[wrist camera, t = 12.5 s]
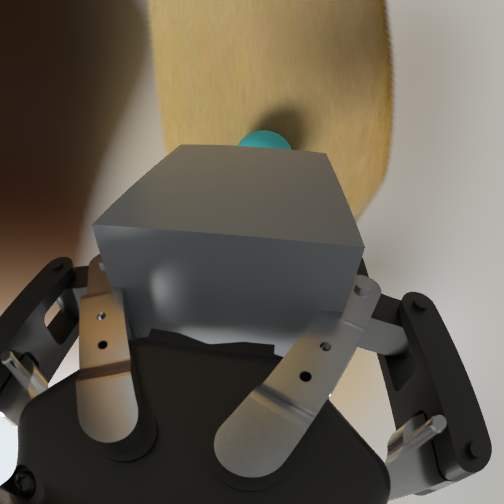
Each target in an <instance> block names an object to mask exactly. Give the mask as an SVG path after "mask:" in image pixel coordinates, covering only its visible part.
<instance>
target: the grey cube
mask: <svg viewBox="0 0 504 504" xmlns="http://www.w3.org/2000/svg"><path fill="white" fill-rule="evenodd" d="M92 226H93V230H94V233H95V237H96V241H97V244H98V248H99V251H100V255H101V258H102V261H103V264H104V267H105V271H106V274H107V277H108V280H109V283H110V285H111V286H114V287H123V288H125V292H126V295H127V298H128V302H129V307H130V310H131V313H132V316H133V319H134V322H135V325H136V327H137V330H138V331H139V332H140V335H141V338H142V337H148V335H149V333H150V331H151V328H153V329H159V330H165V331H171V332H177V333H181V334H183V335H186V336H188V337H191V338H194V339H196V340H199V341H201V342H204V343H207V344H220V343H233V342H252V343H262V344H273V345H275V349H274V354H276V355H279V356H282V357H284V356H285V355H286V354H287V353H288V351H289V350H290V349H291V347H292V346H293V345H294V343H295V342H296V341H297V339H298V338H299V337H300V335H301V334H302V333H303V331H304V330H305V329H306V327H307V326H308V325H309V323H310V322H311V321H312V319H313V318H314V316H315V315H316V314H317V312H318V311H319V310H320V309H322V310H324V311H338V312H344V310H345V307H346V304H347V301H348V299H349V296H350V293H351V290H352V287H353V284H354V281H355V277H356V274H357V271H358V268H359V265H360V261H361V258H362V255H363V251H364V248H365V246H364V244H363V241H362V238H361V236H360V233H359V230H358V228H357V225H356V222H355V220H354V217H353V215H352V212H351V210H350V207H349V205H348V202H347V200H346V198H345V195H344V193H343V190H342V188H341V186H340V184H339V181H338V179H337V177H336V174H335V172H334V170H333V168H332V166H331V163H330V161H329V159H328V157H327V155H326V153H318V152H309V151H300V150H290V149H278V148H265V147H250V146H229V145H180V146H179V147H177V148H176V149H175V150H174V151H172V152H171V153H170V154H169V155H167V156H166V157H165V158H164V159H163V160H161V161H160V162H159V163H158V164H157V165H155V166H154V167H153V168H152V169H151V170H150V171H148V172H147V173H146V174H145V175H144V176H143V177H142V178H140V179H139V180H138V181H137V182H136V183H135V184H134V185H133V186H132V187H130V188H129V189H128V190H127V191H126V192H125V193H124V194H123V195H122V196H121V197H120V198H118V200H116V201H115V202H114V203H113V204H112V205H111V206H110V207H109V208H108V209H107V210H106V211H105V212H104V213H103V214H102V215H101V216H100V217H99V218H98V219H97V220H96V221H95V222H94V223H93V224H92Z"/></svg>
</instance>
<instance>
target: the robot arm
mask: <svg viewBox="0 0 504 504" xmlns="http://www.w3.org/2000/svg"><path fill="white" fill-rule="evenodd" d="M55 301H57V303H58V305H59V307H60V311H59V312H58V313H57V315H56V316H55V317H54V319H53V320H52V321H51V322H50V324H49V325H48V326H47V327H46V325H45V322H44V317H45V314H46V312H47V311H48V310H49V308H50V307H51V306H52V305H53V303H54V302H55ZM78 336H79V365H80V366H79V367H80V369H79V370H78V371H76V372H74V373H73V374H71V375H70V376H68V377H66V378H65V379H63V380H61V381H60V382H58V383H57V384H55V385H53V386H52V387H50V388H48V383H49V382H50V380H51V378H52V377H53V375H54V373H55V372H56V370H57V369H58V367H59V365H60V364H61V362H62V360H63V359H64V357H65V356H66V354H67V353H68V351H69V350H70V348H71V347H72V345H73V344H74V342H75V341H76V339H77V337H78ZM357 347H360V348H363V349H367V350H370V351H373V352H376V353H377V355H378V359H379V363H380V366H381V370H382V373H383V377H384V380H385V385H386V389H387V392H388V396H389V400H390V405H391V409H392V413H393V418H394V422H395V427H396V432H394V433H393V434H392V436H391V437H390V439H389V442H388V446H387V448H388V454H387V459H386V461H385V463H384V462H383V461H382V460H381V458H380V457H379V456H378V455H377V454H376V453H375V451H374V450H373V449H372V448H371V447H370V446H369V445H368V444H367V443H366V441H365V440H364V439H363V438H362V437H361V436H360V435H359V434H358V433H357V431H356V430H355V429H354V428H353V427H352V426H351V425H350V423H349V422H348V421H347V420H346V419H345V418H344V417H343V415H342V414H341V413H340V412H339V411H338V410H337V409H336V407H335V406H334V405H333V404H332V403H331V402H330V401H329V398H330V396H331V394H332V392H333V391H334V389H335V387H336V385H337V384H338V382H339V380H340V378H341V377H342V375H343V373H344V371H345V369H346V367H347V366H348V364H349V362H350V360H351V358H352V356H353V354H354V352H355V350H356V348H357ZM274 349H275V345H273V344H262V343H252V342H233V343H220V344H207V343H204V342H201V341H199V340H196V339H194V338H191V337H188V336H186V335H183V334H181V333H177V332H171V331H165V330H159V329H153V328H151V331H150V333H149V335H148V337H142V338H141V335H140V332H139V331H138V330H137V327H136V325H135V322H134V319H133V316H132V313H131V310H130V307H129V302H128V298H127V295H126V292H125V288H123V287H114V286H111V285H110V283H109V280H108V277H107V274H106V271H105V267H104V264H103V261H102V258H101V255H100V254H98V255H97V256H95V257H94V258H93V259H92V260H91V261H90V263H89V266H82V267H74V265H73V262H72V260H71V259H70V258H68V257H59V258H56V259H54V260H52V261H51V262H49V263H48V264H47V265H46V266H45V267H44V268H43V269H42V270H41V271H40V272H39V273H38V274H37V275H36V277H35V278H34V279H33V280H32V281H31V282H30V283H29V284H28V285H27V286H26V287H25V288H24V290H23V291H22V292H21V293H20V294H19V295H18V296H17V297H16V299H15V300H14V301H13V302H12V303H11V305H10V306H9V307H8V308H7V309H6V310H5V312H4V313H3V314H2V315H1V316H0V416H2V417H3V418H4V419H6V420H7V421H8V422H9V423H11V424H12V425H15V426H18V460H17V466H16V469H15V471H14V473H13V475H12V476H11V477H10V478H9V480H7V481H6V482H5V483H4V484H2V485H1V486H0V504H387V502H388V501H390V500H394V499H398V498H401V497H404V496H408V495H411V494H415V495H426V494H428V493H431V492H434V491H436V490H439V489H441V488H444V487H446V486H449V485H451V484H453V483H455V482H457V481H460V480H462V479H464V478H466V477H468V476H470V475H472V474H474V473H476V472H478V471H480V470H482V469H483V468H484V467H485V466H486V465H487V463H488V462H489V460H490V457H491V452H492V447H491V441H490V438H489V434H488V431H487V428H486V425H485V421H484V418H483V415H482V412H481V409H480V407H479V404H478V401H477V399H476V395H475V393H474V390H473V387H472V385H471V382H470V380H469V377H468V375H467V372H466V370H465V368H464V365H463V363H462V361H461V358H460V356H459V354H458V351H457V349H456V347H455V345H454V343H453V341H452V339H451V336H450V334H449V332H448V330H447V328H446V326H445V324H444V322H443V320H442V318H441V316H440V314H439V312H438V310H437V309H436V307H435V305H434V304H433V302H432V301H431V300H430V299H429V298H428V297H427V296H425V295H423V294H421V293H417V292H409V293H407V294H405V295H404V296H403V298H402V300H398V299H395V298H391V297H389V296H386V295H384V294H382V293H381V288H380V286H379V285H378V284H377V283H376V282H375V281H374V280H373V279H371V278H369V276H368V273H367V270H366V267H365V264H364V261H363V258H361V261H360V265H359V268H358V271H357V274H356V277H355V281H354V284H353V287H352V290H351V293H350V296H349V299H348V301H347V304H346V307H345V310H344V312H338V311H324V310H322V309H320V310H319V311H318V312H317V314H316V315H315V316H314V318H313V319H312V321H311V322H310V323H309V325H308V326H307V327H306V329H305V330H304V331H303V333H302V334H301V335H300V337H299V338H298V339H297V341H296V342H295V343H294V345H293V346H292V347H291V349H290V350H289V351H288V353H287V354H286V355H285V356H284V357H282V356H279V355H276V354H274Z"/></svg>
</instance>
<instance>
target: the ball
mask: <svg viewBox="0 0 504 504" xmlns="http://www.w3.org/2000/svg"><path fill="white" fill-rule="evenodd" d="M238 146H250V147H265V148H278V149H290V150H292V149H291V146H290V145H289V143H288V142H287V140H286V139H285V138H283V137H282V136H281V135H279V134H277V133H275V132H272V131H268V130H260V131H255V132H252V133H250V134H248V135H247V136H245V137H244V138H243V139H242V140H241V141H240V143H239V144H238Z"/></svg>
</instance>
